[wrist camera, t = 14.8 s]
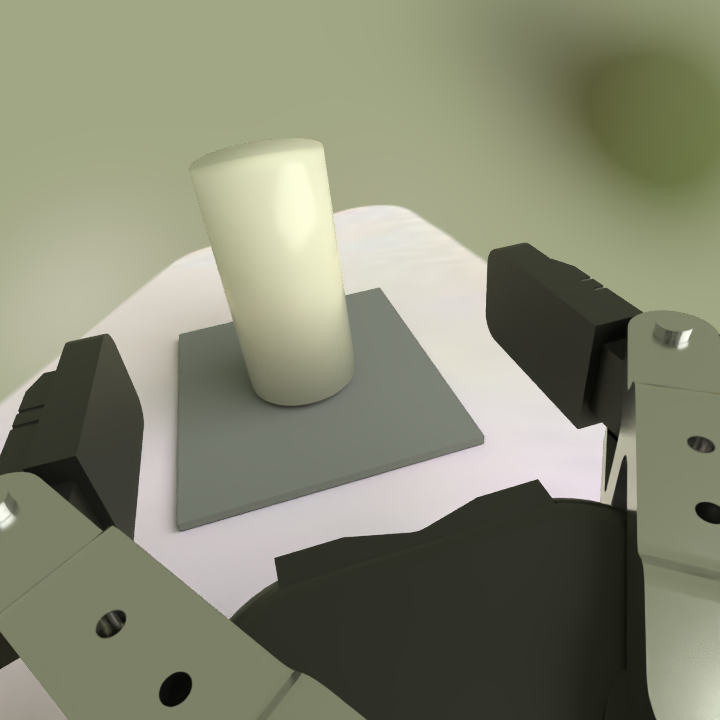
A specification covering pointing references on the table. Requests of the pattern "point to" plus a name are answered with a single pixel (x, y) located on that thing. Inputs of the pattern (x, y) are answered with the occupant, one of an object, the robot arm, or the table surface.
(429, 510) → the table surface
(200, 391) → the grey mat
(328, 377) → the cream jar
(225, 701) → the robot arm
